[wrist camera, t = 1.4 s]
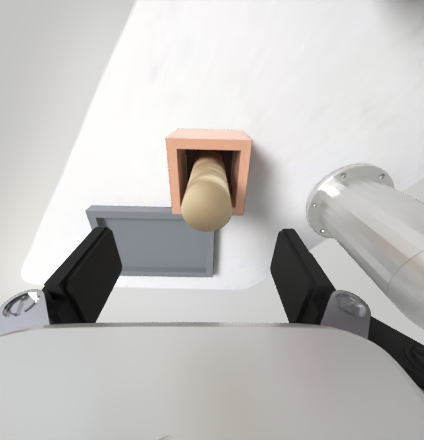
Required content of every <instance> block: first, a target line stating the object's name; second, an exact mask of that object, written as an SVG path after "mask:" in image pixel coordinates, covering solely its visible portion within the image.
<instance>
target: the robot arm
mask: <svg viewBox="0 0 424 440" xmlns="http://www.w3.org/2000/svg"><path fill="white" fill-rule="evenodd" d="M306 217H307V220H308V223H309V224H310V226H311V227H312V228H313V229H314V231H315V232H317V233H318V234H320V235H322V236H324V237H328V238H335V239H336V240H337V241H338V242H339V244H340V245H341V246H342V247H343V248H344V249H345V250H346V251H347V252H348V254H349V255H350V256H351V257H352V258H353V259H354V260H355V261H356V262H357V263H358V265H359V266H360V267H361V268H362V269H363V270H364V271H365V272H366V274H367V275H368V276H369V277H370V278H371V279H372V280H373V281H374V282H375V283H376V285H377V286H378V287H379V288H380V289H381V290H382V291H383V292H384V293H385V295H386V296H387V297H388V298H389V299H390V300H391V301H392V302H393V303H394V304H395V305H396V307H397V308H398V309H399V310H400V311H401V312H402V313H403V314H404V315H405V316H406V317H407V318H408V319H410V320H411V321H412V322H413V323H415V324H416V325H418V326H420V327H421V328H422V329H424V203H423V202H421V201H419V200H417V199H414V198H412V197H410V196H408V195H406V194H404V193H402V192H400V191H398V190H395V189H394V184H393V181H392V179H391V177H390V176H389V174H388V173H387V172H385V171H384V170H382V169H381V168H378V167H376V166H372V165H368V164H355V165H350V166H347V167H343V168H341V169H339V170H337V171H335V172H333V173H331V174H330V175H328V176H327V177H326V178H324V179H323V180H322V181H321V182H320V183H319V184H318V185H317V186H316V188H315V189H314V190H313V192H312V193H311V195H310V197H309V199H308V202H307V206H306ZM270 270H271V274H272V277H273V279H274V282H275V285H276V288H277V290H278V293H279V295H280V299H281V301H282V304H283V307H284V310H285V312H286V315H287V317H288V321H289V323H219V322H217V323H215V322H214V323H213V322H211V323H208V322H207V323H206V322H205V323H204V322H202V323H201V322H200V323H197V322H194V323H188V322H187V323H186V322H182V323H181V322H178V323H176V322H175V323H95V322H96V320H97V318H98V317H99V315H100V312H101V311H102V308H103V307H104V305H105V303H106V301H107V299H108V297H109V295H110V293H111V291H112V289H113V287H114V285H115V283H116V281H117V279H118V277H119V275H120V273H121V271H122V263H121V259H120V256H119V252H118V249H117V245H116V242H115V238H114V235H113V232H112V230H111V229H109V228H108V227H95V228H94V229H93V230H92V231H91V232H90V234H89V235H88V236H87V237H86V238H85V239H84V240H83V241H82V243H81V244H80V245H79V246H78V247H77V248H76V249H75V250H74V251H73V253H72V254H71V255H70V256H69V257H68V258H67V259H66V260H65V261H64V263H63V264H62V265H61V266H60V267H59V268H58V269H57V270H56V271H55V273H54V274H53V275H52V276H51V277H50V278H49V279H48V280H47V282H46V283H45V284H44V285H45V287H44V288H43V289H42V290H38V289H32V290H27V291H24V292H21V293H19V294H17V295H15V296H13V297H12V298H10V299H9V300H7V301H6V302H5V303H4V304H3V305H2V306H1V307H0V440H424V345H422V344H420V343H418V342H417V341H415V340H413V339H411V338H409V337H408V336H406V335H404V334H402V333H400V332H398V331H397V330H395V329H393V328H391V327H390V326H388V325H386V324H384V323H382V322H381V321H379V320H377V319H375V318H373V317H372V316H371V312H370V309H369V307H368V305H367V304H366V303H365V302H364V301H363V300H362V299H361V298H360V297H358V296H356V295H355V294H353V293H350V292H348V291H343V290H337V291H336V289H335V288H334V286H333V285H332V283H331V282H330V280H329V279H328V277H327V276H326V274H325V273H324V272H323V270H322V268H321V267H320V266H319V264H318V263H317V261H316V260H315V258H314V257H313V255H312V254H311V253H310V252H309V251H308V249H307V248H306V246H305V245H304V243H303V242H302V240H301V239H300V237H299V236H298V234H297V233H296V231H295V230H294V229H283V230H282V231H280V232H279V233H278V237H277V241H276V245H275V250H274V254H273V258H272V262H271V266H270Z"/></svg>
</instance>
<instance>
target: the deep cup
mask: <svg viewBox="0 0 424 440" xmlns="http://www.w3.org/2000/svg"><path fill="white" fill-rule="evenodd" d="M251 145H252V140H251V139H250V138H249V137H248V136H247V135H246V134H245V133H244V132H243V131H242V130H212V129H177V130H175V131H174V132H173V133H171V134H170V135H169V136H167V137H166V149H167V160H168V171H169V182H170V193H171V204H172V214H182V212H181V206H182V202H183V199H184V195H185V192H186V189H187V185H188V181H187V157H186V149H203V150H233V153H232V166H231V180H230V184H228V189H229V194H230V199H231V205H232V214H231V215H243V212H244V203H245V195H246V187H247V178H248V170H249V162H250V153H251Z"/></svg>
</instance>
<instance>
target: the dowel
mask: <svg viewBox="0 0 424 440" xmlns="http://www.w3.org/2000/svg"><path fill="white" fill-rule="evenodd" d="M181 212H182V216H183V218H184V220H185V222H186V223H187V224H188V225H189V226H191V227H192V228H194V229H196V230H199V231H203V232H211V231H216V230H218V229H220V228H222V227H223V226H225V225H226V224H227V222H228V221H229V219H230V217H231V214H232V205H231V199H230V194H229V189H228V183H227V178H226V173H225V167H224V162H223V157H222V155H221V153H220V152H219V151H218V150H203V149H202V150H200V151H199V152H198V154H197V156H196V159H195V162H194V165H193V169H192V172H191V175H190V179H189V182H188V185H187V189H186V192H185V195H184V199H183V202H182V206H181Z"/></svg>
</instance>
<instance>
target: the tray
mask: <svg viewBox="0 0 424 440" xmlns="http://www.w3.org/2000/svg"><path fill="white" fill-rule="evenodd" d="M86 214H87V217H88V220H89V222H90V225H91V228H92V230H93V229H94V228H95V227H108V228H109V229H111V230H112V232H113V235H114V238H115V242H116V245H117V249H118V252H119V256H120V259H121V263H122V271H121V273H120V275H119V276H167V277H213V249H214V231H211V232H203V231H199V230H196V229H194V228H192V227H191V226H189V225H188V224H187V223H186V222H185V220H184V218H183V216H182V214H172V207H138V206H90V207H89V208H88V209H87V210H86Z"/></svg>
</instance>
